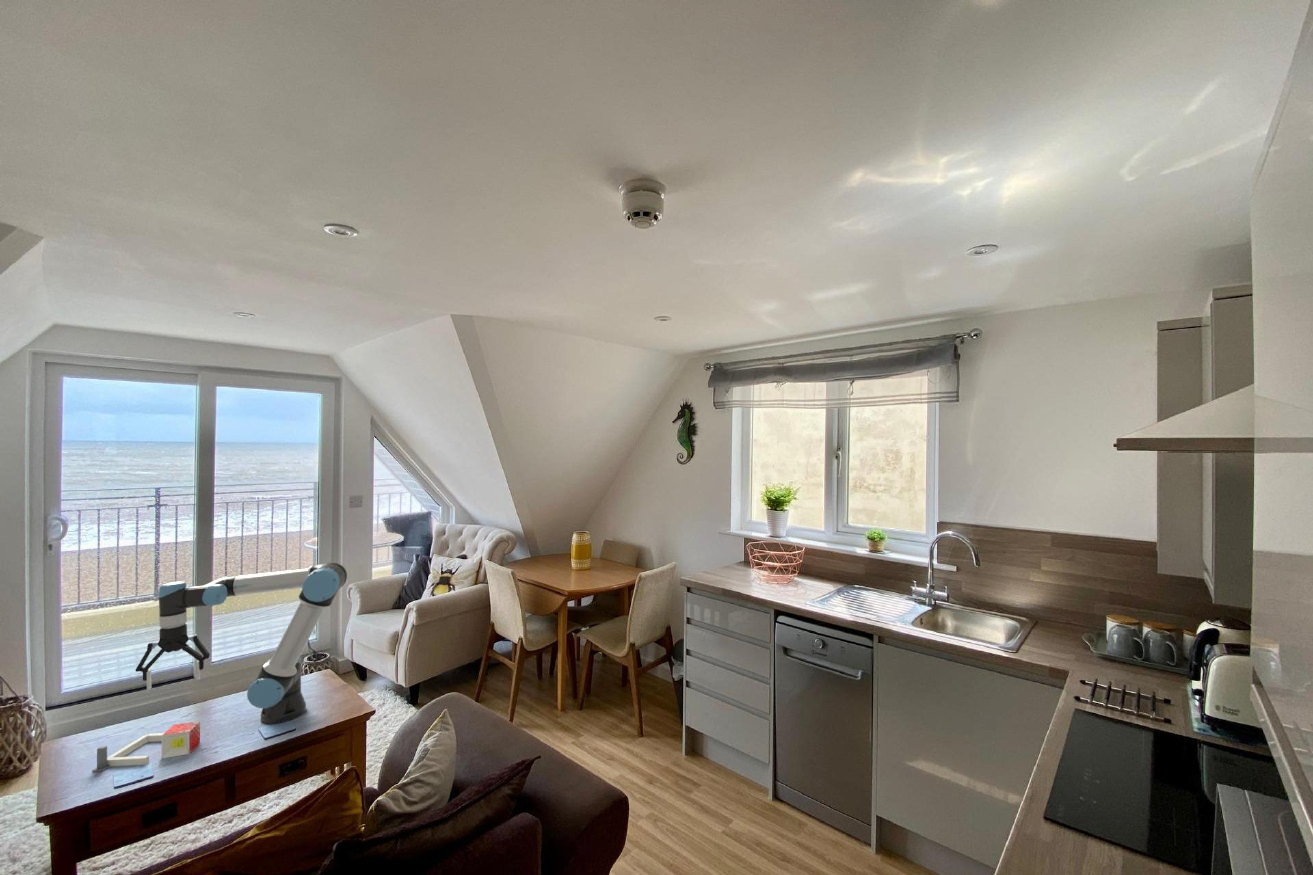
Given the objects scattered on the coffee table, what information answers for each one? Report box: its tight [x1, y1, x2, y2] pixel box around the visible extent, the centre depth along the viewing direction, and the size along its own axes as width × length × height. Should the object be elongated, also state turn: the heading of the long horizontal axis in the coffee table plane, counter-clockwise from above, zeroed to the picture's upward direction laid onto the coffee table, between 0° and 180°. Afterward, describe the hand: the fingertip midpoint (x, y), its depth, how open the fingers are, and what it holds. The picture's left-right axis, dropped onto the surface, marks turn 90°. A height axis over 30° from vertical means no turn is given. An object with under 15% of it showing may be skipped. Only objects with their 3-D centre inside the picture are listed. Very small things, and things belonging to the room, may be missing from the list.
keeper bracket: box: [91, 732, 165, 773], centre depth 192 cm, size 14×20×7 cm
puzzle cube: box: [161, 720, 201, 759], centre depth 194 cm, size 8×8×8 cm
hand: (174, 683), depth 199 cm, fingers open, 13 cm apart
